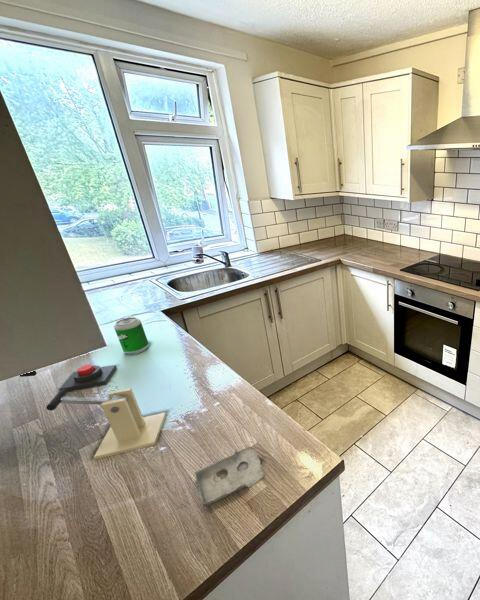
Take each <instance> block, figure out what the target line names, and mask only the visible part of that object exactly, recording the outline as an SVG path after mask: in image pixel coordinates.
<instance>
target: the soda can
mask: <svg viewBox="0 0 480 600" xmlns="http://www.w3.org/2000/svg"><path fill="white" fill-rule="evenodd" d="M113 329H114V332H115V333H116V336H117V338H118V341H119V344H120V346H121V349H122V351H123V353H125V354H127V355H137V354H140V353H143V352H145V351H146V350H147V349H148V347H149V345H150V342H149V341H148V338H147V335H146V332H145V330H144V329H145V328H144V326H143V324H142V321H141V319H140V318H137V317H134V316H133V317H132V316H131V317H125V318H122V319H119V320H117V321H116V322H115V324H114V326H113Z"/></svg>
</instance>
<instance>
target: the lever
mask: <svg viewBox="0 0 480 600" xmlns="http://www.w3.org/2000/svg"><path fill="white" fill-rule="evenodd" d="M67 395H69V392H68V391H67V390H59V391H58V392H57V393H56V395H55V396H53V398H52V399H51V401H50V402H49V403H47V405H46V407H45V408H46V410H47V411H55V410H56V409H57V408H58V406H59V405H60V404H75V405H99V406H101V404H102V403H104V402H109V401H113V400H118V399H123V398H126V401H127V402H128V396H124V395H114V396H113V398H112V399H110V398H105V397H104V398H102V397H101V398H100V397H82V396H81V397H80V396H79V397H78V396H67Z"/></svg>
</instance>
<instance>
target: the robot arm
mask: <svg viewBox="0 0 480 600" xmlns="http://www.w3.org/2000/svg"><path fill="white" fill-rule="evenodd" d="M37 374H38V373H37V371H36V370H35V371H33V372H30V373H26V374H23V375H20V376H19V377H20V378H23V377H35V376H36V375H37Z"/></svg>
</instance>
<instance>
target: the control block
mask: <svg viewBox="0 0 480 600" xmlns="http://www.w3.org/2000/svg"><path fill="white" fill-rule="evenodd" d="M92 365H93V364H92ZM93 367H94V370H95V371H93V372H92V373H90V374H87V375H83V376H80V375H79V373H78V371H77V370H76V371H73V372H72V373H71V375H70V376H68V378H67V379H66V380H65V382H64V383H63V384H62V385H61V386H60V387H59V391H60V390H67V391H68V393H70V392H71V393H72V392H76V391H80V390H81V391H82V390H86V389H91V388H92V389H93V388H97V387H102V386H103V387H104V386H107V385H108V383H109V382H110V380H111V379H112V377H113V376H114V374H115V373H116V371H117V370H118V367H117V365H116V364H112V365H106V366H102V367H101V366H100V365H93Z"/></svg>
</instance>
